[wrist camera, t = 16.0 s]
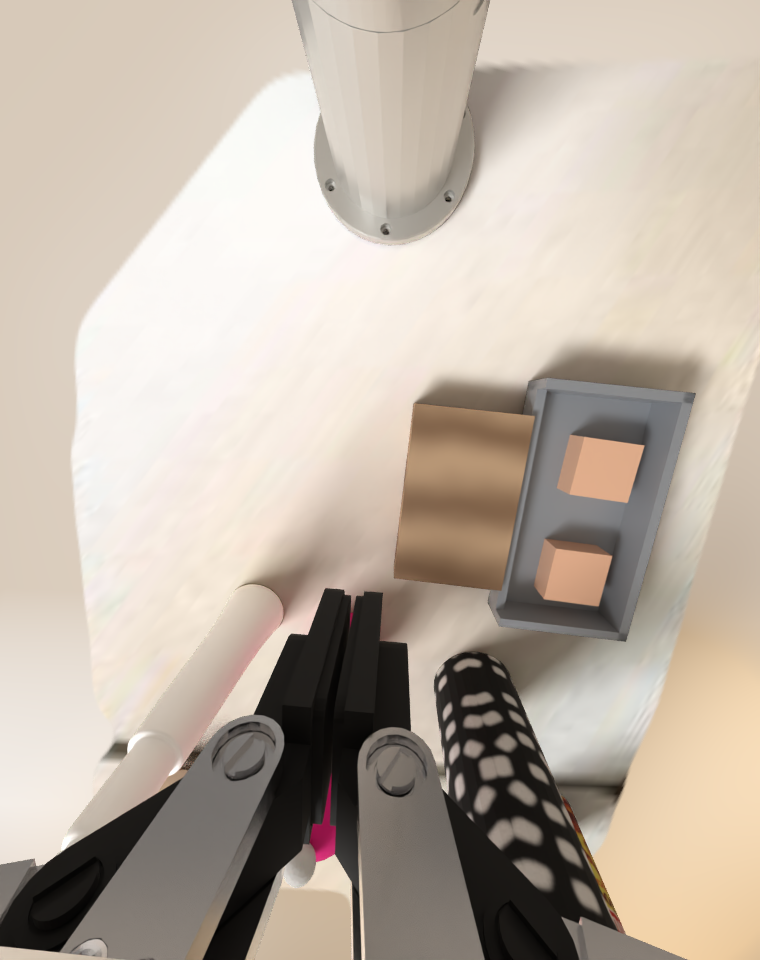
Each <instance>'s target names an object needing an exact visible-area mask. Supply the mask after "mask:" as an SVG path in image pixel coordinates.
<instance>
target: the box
mask: <svg viewBox="0 0 760 960" xmlns="http://www.w3.org/2000/svg"><path fill="white" fill-rule="evenodd" d="M695 394H696V393H688V392H678V391H669V390H659V389H650V388H640V387H630V386H621V385H611V384H602V383H592V382H582V381H573V380H563V379H554V378H544V379H539V380H534V381H529V383H528V388H527V394H526V399H525V404H524V410H523V415H530V416H535V419H534V424H533V429H532V435H531V440H530V445H529V450H528V455H527V461H526V466H525V471H524V476H523V481H522V487H521V492H520V497H519V502H518V507H517V513H516V518H515V523H514V528H513V533H512V539H511V544H510V549H509V554H508V559H507V565H506V570H505V575H504V580H503V585H502V590H501V591H498V590H490V593H489V599H488V604H489V606H490V608H491V610H492V613H493V615H494V617H495V619H496V621H497V623H498V625H499V626H501V627H509V628H517V629H526V630H534V631H542V632H550V633H559V634H567V635H575V636H583V637H592V638H600V639H608V640H617V641H625V642H626V639H627V636H628V632H629V629H630V625H631V622H632V618H633V614H634V611H635V607H636V604H637V600H638V597H639V593H640V590H641V586H642V582H643V579H644V575H645V572H646V568H647V565H648V561H649V558H650V554H651V550H652V547H653V543H654V540H655V536H656V533H657V529H658V526H659V522H660V518H661V515H662V511H663V508H664V504H665V501H666V497H667V494H668V490H669V486H670V483H671V479H672V476H673V472H674V469H675V465H676V462H677V458H678V454H679V451H680V447H681V444H682V440H683V437H684V433H685V430H686V426H687V422H688V419H689V415H690V412H691V408H692V405H693V401H694V398H695ZM570 435H576V436H583V437H590V438H597V439H604V440H611V441H618V442H625V443H632V444H638V445H645V446H644V449H643V453H642V456H641V459H640V463H639V466H638V469H637V473H636V476H635V480H634V483H633V486H632V490H631V493H630V496H629V500H628V503H624V502H617V501H611V500H604V499H597V498H590V497H583V496H576V495H569V494H568V493H566V492H564V491H562V490H560V489H558V488H557V485H558V481H559V477H560V473H561V469H562V465H563V461H564V457H565V453H566V449H567V445H568V441H569V437H570ZM544 539H553V540H560V541H568V542H576V543H583V544H591V545H597V546H599V547H600V548H601V549H603V550H604V551H606V552H607V553H609V554H610V555H612V559H611V563H610V566H609V570H608V574H607V577H606V581H605V585H604V588H603V592H602V595H601V599H600V603H599V606H591V605H583V604H576V603H569V602H561V601H554V600H546V599H543V597H542V596H541V595H540V593H539V592H538V591H537V590H536V588H535V587H534V582H535V578H536V573H537V569H538V565H539V560H540V556H541V552H542V547H543V543H544Z"/></svg>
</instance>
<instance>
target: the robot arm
mask: <svg viewBox="0 0 760 960" xmlns="http://www.w3.org/2000/svg"><path fill="white" fill-rule="evenodd" d="M292 3H293V7H294V11H295V15H296V19H297V23H298V26H299V30H300V34H301V38H302V42H303V45H304V49H305V53H306V56H307V61H308V65H309V69H310V72H311V76H312V80H313V84H314V88H315V92H316V96H317V100H318V104H319V108H320V111H321V113H320V116H319V119H318V122H317V126H316V132H315V139H314V163H315V168H316V173H317V179H318V182H319V185H320V188H321V191H322V193H323V195H324V198H325V200H326V202H327V204H328V206H329V208H330V209H331V211H332V212H333V213H334V215H335V216H336V218H337V219H338V220H339V221H340V222H341V223H342V224H343V225H344V226H345V227H346V228H347V229H348V230H349V231H351V232H352V233H354V234H356V235H357V236H359V237H360V238H362V239H365V240H368V241H370V242H373V243H377V244H384V245H401V244H406V243H410V242H413V241H417V240H419V239H421V238H423V237H425V236H427V235H429V234H430V233H432V232H433V231H434V230H436V229H437V228H438V227H439V226H441V225H442V224H443V223H444V222H445V221H446V220H447V218H448V217H449V216H450V215H451V214H452V213H453V211H454V210H455V208H456V206H457V205H458V203H459V202H460V200H461V198H462V196H463V193H464V191H465V188H466V186H467V184H468V180H469V177H470V173H471V170H472V166H473V159H474V151H475V140H474V128H473V123H472V118H471V113H470V110H469V108H468V105H467V98H468V94H469V90H470V85H471V81H472V77H473V72H474V68H475V63H476V59H477V55H478V50H479V46H480V42H481V37H482V33H483V29H484V24H485V20H486V15H487V11H488V7H489V3H490V0H292ZM331 189H334V190H333V191H330V190H331ZM447 199H448V200H450V201H451V202H446V201H445V200H447ZM386 231H387V232H389V234H388V235H383V233H384V232H386ZM382 596H383V593H379V592H366V591H364V596H356V601H355V606H354V611H353V616H352V621H351V626H350V613H351V595H345V591H344V590H341V589H328V588H326V589H325V590H324V593H323V596H322V598H321V601H320V604H319V606H318V609H317V612H316V615H315V617H314V620H313V623H312V625H311V628H310V631H309V633H308V635H301V634H291V635H290V636H289V637H288V639H287V641H286V644H285V646H284V648H283V650H282V652H281V655H280V657H279V659H278V661H277V664H276V666H275V668H274V670H273V673H272V675H271V677H270V679H269V682H268V684H267V686H266V688H265V690H264V693H263V695H262V697H261V699H260V702H259V704H258V706H257V708H256V711H255V713H254V715H249V716H244V717H240V718H238V719H235V720H233V721H231V722H229V723H228V724H226V725H225V726H223V727H222V728H221V729H219V730H218V731H217V732H216V734H215V735H214V736H213V737H212V738H211V739H210V740H209V742H208V743H207V745H206V746H205V747H204V749H203V750H202V752H201V753H200V754H199V756H198V757H197V759H196V760H195V762H194V763H193V764H192V766H191V767H190V769H189V770H188V771H187V773H186V774H185V776H184V777H183V778H181V779H179V780H178V781H176V782H175V783H173V784H171V785H170V786H168V787H166V788H165V789H163V790H161V791H160V792H158V793H157V794H155V795H153V796H152V797H150V798H148V799H147V800H145V801H143V802H142V803H140V804H139V805H137V806H135V807H134V808H132V809H130V810H129V811H127V812H125V813H124V814H122V815H121V816H119V817H117V818H116V819H114V820H112V821H111V822H109V823H107V824H106V825H104V826H102V827H101V828H99V829H98V830H96V831H94V832H93V833H91V834H89V835H88V836H86V837H84V838H83V839H81V840H80V841H78V842H76V843H75V844H73V845H71V846H70V847H68V848H66V849H65V850H64V851H62V852H61V853H60V854H58V855H57V856H55V857H54V858H53V859H51V860H50V861H49V862H47V863H46V864H45V865H41V866H36V863H35V859H30V860H24V861H18V862H13V863H7V864H1V865H0V960H255V957H256V954H257V951H258V948H259V945H260V942H261V939H262V936H263V934H264V931H265V928H266V925H267V923H268V920H269V917H270V914H271V911H272V908H273V905H274V903H275V900H276V897H277V894H278V891H279V888H280V886H281V883H282V879H283V874H284V870H285V866H286V865H287V864H288V863H289V862H290V861H291V860H292V859H293V858H294V857H295V856H296V855H297V854H299V853H300V852H301V851H302V848H303V844H308V845H309V843H310V838H311V833H312V827H313V824H320V825H322V823H323V818H324V813H325V807H326V801H327V796H328V790H329V784H330V778H331V804H330V826H336V837H335V855H336V857H337V858H338V860H339V862H340V863H341V865H342V867H343V868H344V870H345V872H346V873H347V875H348V877H349V878H350V880H351V889H350V890H351V947H352V948H351V950H352V953H351V954H352V960H687V959H684V958H682V957H679V956H677V955H674V954H672V953H669V952H667V951H665V950H662V949H660V948H657V947H655V946H652V945H650V944H647V943H645V942H642V941H640V940H637V939H635V938H633V937H630V936H627V935H625V934H623V933H620V932H618V931H615V930H613V929H610V928H608V927H606V926H603V925H601V924H598V923H596V922H593V921H591V920H588V919H586V918H583V917H581V918H580V921H579V924H578V923H575V922H573V921H570V920H568V919H566V918H563V917H561V916H560V915H559V914H558V912H557V911H556V910H555V908H554V907H553V906H552V905H551V903H550V902H549V901H548V899H547V898H546V897H545V896H544V895H543V894H542V893H541V892H540V891H539V890H538V889H537V888H536V887H535V886H534V885H533V884H532V883H531V882H530V880H529V879H528V878H527V877H526V876H525V875H524V874H523V873H522V872H521V871H520V870H519V869H518V868H517V867H516V866H515V865H514V864H513V863H512V862H511V861H510V860H509V858H508V857H507V856H506V855H505V854H504V853H503V852H502V851H501V850H500V849H499V848H498V847H497V846H496V845H495V844H494V843H493V842H492V841H491V840H490V839H489V838H488V836H487V835H486V834H485V833H484V832H483V831H482V830H481V829H480V828H479V827H478V826H477V825H476V824H475V823H474V822H473V821H472V820H471V819H470V818H469V817H468V816H467V814H466V813H465V812H464V811H463V810H462V809H461V808H460V807H459V806H458V805H457V804H456V803H455V802H454V801H453V800H452V799H451V798H450V797H449V796H448V795H447V794H446V792H445V791H444V790H443V789H442V787H441V783H440V779H439V775H438V771H437V767H436V763H435V760H434V757H433V755H432V752H431V750H430V748H429V747H428V746H427V744H426V743H425V742H424V741H423V739H421V738H420V737H419V736H417V735H416V734H415V733H413V732H411V722H410V697H409V673H408V649H407V643H398V642H386V641H379V640H380V626H381V611H382ZM331 773H332V775H331Z"/></svg>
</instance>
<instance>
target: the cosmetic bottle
mask: <svg viewBox="0 0 760 960" xmlns="http://www.w3.org/2000/svg"><path fill="white" fill-rule="evenodd" d="M282 619H283V606H282V603H281V601H280V599H279V598H278V596H277V595H276V594H275V593H274V592H273V591H272V590H270V589H269V588H267V587H264V586H261V585H257V584H249V585H244V586H242V587H239V588H238V589H236V590H235V591H234V592H233V593H232V594H231V596H230V597H229V599H228V601H227V603H226V605H225V607H224V609H223V611H222V612H221V614H220V616H219V617H218V619H217V621H216V622H215V624H214V625H213V627H212V628H211V630H210V631H209V633H208V634H207V635H206V637H205V638H204V640H203V641H202V642H201V644H200V645H199V646H198V648H197V649H196V651H195V652H194V653H193V655H192V656H191V657H190V659H189V660H188V661H187V663H186V664H185V665H184V667H183V668H182V669H181V671H180V672H179V673H178V675H177V676H176V677H175V679H174V680H173V681H172V683H171V684H170V685H169V687H168V688H167V689H166V691H165V692H164V693H163V695H162V696H161V698H160V699H159V700H158V702H157V703H156V704H155V706H154V707H153V708H152V710H151V711H150V713H149V714H148V715H147V717H146V718H145V720H144V721H143V722H142V724H141V725H140V727H139V728H138V729H137V731H136V732H135V734H134V735H133V736H132V738H131V739H130V741H129V744H128V754H127V755H126V756H125V758H124V759H123V760H122V761H121V763H120V764H119V765H118V767H117V768H116V769H115V770H114V772H113V773H112V774H111V776H110V777H109V778H108V780H107V781H106V782H105V783H104V785H103V786H102V787H101V789H100V790H99V791H98V792H97V794H96V795H95V796H94V798H93V799H92V800H91V801H90V803H89V804H88V805H87V807H86V808H85V809H84V810H83V812H82V813H81V814H80V816H79V817H78V818H77V819H76V821H75V822H74V823H73V825H72V826H71V827H70V829H69V830H68V832H67V833H66V835H65V837H64V839H63V842H62V851H64V850H65V849H66V848H68V847H70V846H71V845H73V844H75V843H76V842H78V841H80V840H81V839H83V838H84V837H86V836H88V835H89V834H91V833H93V832H94V831H96V830H98V829H99V828H101V827H102V826H104V825H106V824H107V823H109V822H111V821H112V820H114V819H116V818H117V817H119V816H121V815H122V814H124V813H125V812H127V811H129V810H130V809H132V808H134V807H135V806H137V805H139V804H140V803H142V802H143V801H145V800H147V799H148V798H150V797H152V796H153V795H155V794H157V793H158V792H159V790H160V788H161V787H162V785H163V783H164V782H165V780H166V779H167V777H168V776H170V775H173V774H174V773H176V772H177V771H178V770H179V769H180V768H181V767H182V765H183V764H184V762H185V761H186V759H187V758H188V757H189V755H190V754H191V752H192V751H193V749H194V748H195V746H196V745H197V743H198V742H199V740H200V739H201V737H202V736H203V734H204V733H205V731H206V730H207V728H208V726H209V725H210V723H211V722H212V720H213V719H214V717H215V716H216V714H217V713H218V711H219V710H220V708H221V706H222V705H223V703H224V702H225V700H226V699H227V697H228V696H229V694H230V693H231V691H232V689H233V688H234V686H235V685H236V683H237V682H238V680H239V679H240V677H241V676H242V674H243V673H244V671H245V670H246V668H247V667H248V665H249V664H250V662H251V661H252V659H253V658H254V656H255V655H256V654H257V652H258V651H259V649H260V648H261V647H262V645H263V644H264V643H265V642H266V640H267V639H268V638H269V637H270V636H271V635H272V633H273V632H274V631H275V630H276V629H277V628H278V627H279V625H280V624H281V622H282ZM62 851H60V852H59V853H58V854H60V853H61V852H62ZM58 854H57V855H58ZM57 855H56V856H57Z"/></svg>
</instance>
